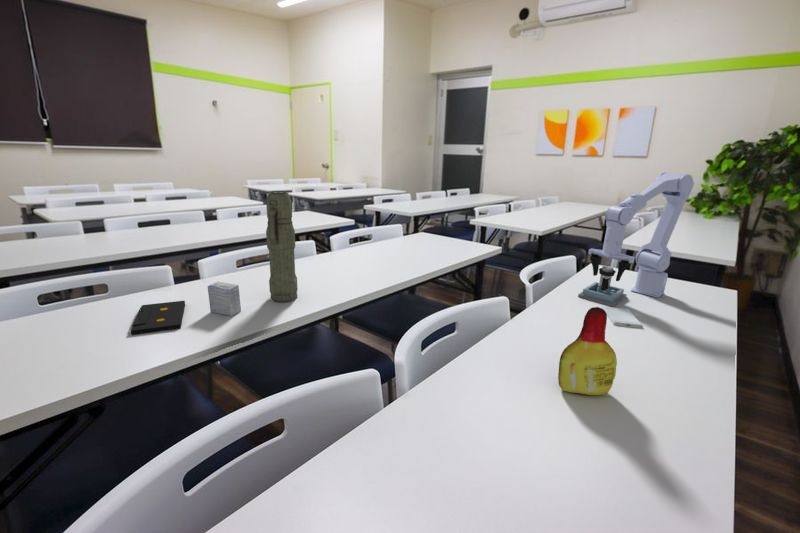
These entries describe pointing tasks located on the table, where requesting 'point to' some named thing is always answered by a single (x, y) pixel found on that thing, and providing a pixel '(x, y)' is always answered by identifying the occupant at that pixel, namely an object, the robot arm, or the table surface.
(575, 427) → the table surface
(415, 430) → the table surface
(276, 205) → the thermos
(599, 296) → the end holder
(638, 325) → the hard drive
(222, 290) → the grey layered block
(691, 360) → the table surface
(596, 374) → the bottle
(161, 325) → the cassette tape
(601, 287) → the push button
